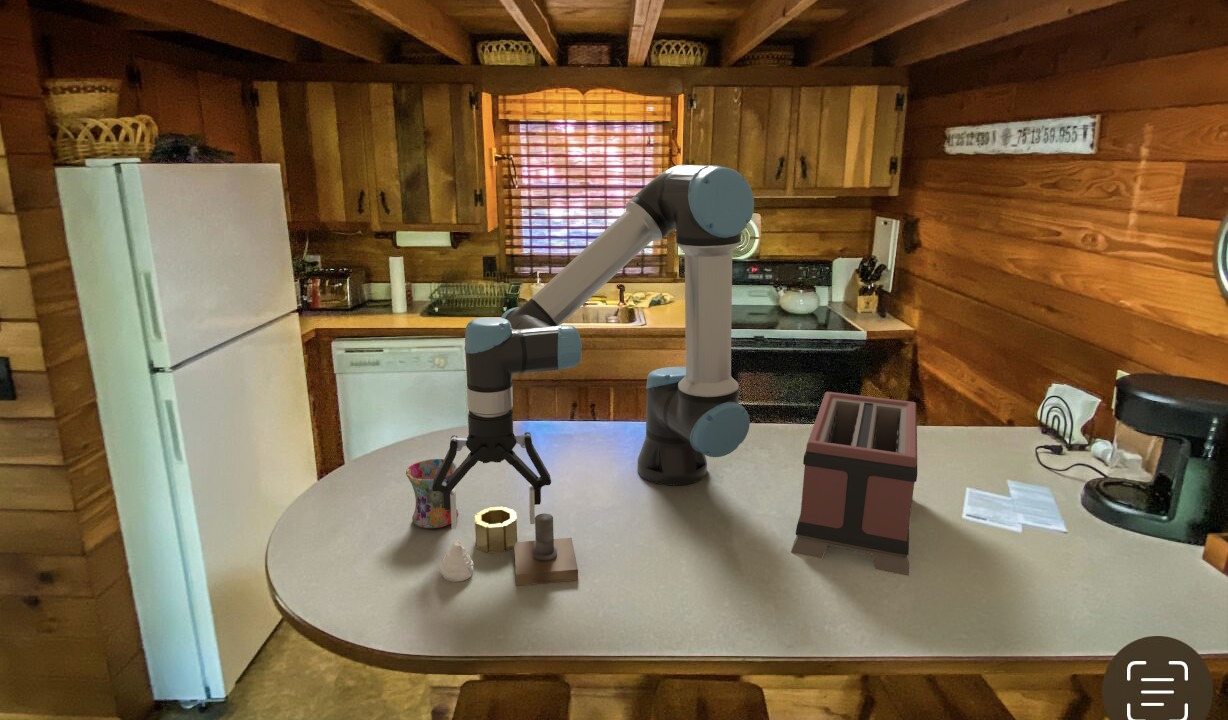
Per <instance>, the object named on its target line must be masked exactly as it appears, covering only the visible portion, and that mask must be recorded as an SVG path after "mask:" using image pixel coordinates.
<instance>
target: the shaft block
mask: <svg viewBox="0 0 1228 720" xmlns="http://www.w3.org/2000/svg"><path fill="white" fill-rule="evenodd" d="M534 528H535V533H534V534H535V535H534V536H535V540H524V541H517V542H514V547H513V549H514V551H513V552H514V564H515V565H514V566H515V581H516V584H515V585H516V586H527V585H537V584H539V585H540V584H549V583H561V582H568V581H569V582H571V581H579V567H578V563H577V557H576V553H575V548H574V544H573V538H572V537H563V538H554V534H555V533H554V516H553V515H552V514H550V513H540V514H537V515H535V524H534Z"/></svg>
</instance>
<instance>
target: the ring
mask: <svg viewBox="0 0 1228 720" xmlns="http://www.w3.org/2000/svg"><path fill="white" fill-rule="evenodd" d="M517 523H518V521H517V512H516V511H515V510H514V509H511V508H508V507H506V506H504V507H503V506H495V507H493V506H492V507H488V508H485V509H482V510H480V511H479V512H477V513H475V515H474V529H475V547H476V548H477V550H479V551H481V552H484V553H487V554H488V553H489V554H497V553H498V554H499V553H505V552H508V551H510V550H511V549H514V542H518V525H517Z"/></svg>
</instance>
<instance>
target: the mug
mask: <svg viewBox="0 0 1228 720" xmlns="http://www.w3.org/2000/svg"><path fill="white" fill-rule="evenodd" d="M444 459H445V458H431V459H424V460H420V461H418V462H415V463H412V464H411V465H410V466H409V467H407V469H406V472H405V474H406V477H407V478H408V481H409V482H410V484H411V486H412V489H413V492H414V496H415V497H414V498H415V507H414V512H413V514H412V518H411V521H412V523H413V524H415V525H416V526H417V527H420V528H424V529H439V528H443V527H446V526H448V525H449V526H450V525H452V524H451V510H445V508H444V495H443V493H442V492H440V491H433V490H432V486H433V481H434V479H435V477H436V475H437V473H438V471H439V469H440V467H441V465H442V463H443V461H444ZM458 467H459V465H457V463H456V462H454V461H453V462H452V464H451V466H450V469H449V471H448V473H447V475H446V477H445V479H444V481H443V482H446V481H447V480H448V479H449V477H450V476H451V475H452V474H453V473H454V472H455V471H456V469H457V468H458ZM456 514H457V518H458V517H459V511H458V509H457V508H456Z"/></svg>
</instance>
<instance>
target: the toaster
mask: <svg viewBox="0 0 1228 720" xmlns="http://www.w3.org/2000/svg"><path fill="white" fill-rule="evenodd" d="M917 419H918V417H917V403H916V402H915V401H908V400H901V399H892V398H884V397H883V398H882V397H874V396H867V395H857V394H849V393H843V392H842V393H841V392H833V391H826V392H824V394H823V398H822V401H821V404H820V407H819V410H818V413H817V415H816V418H815V420H814V421H815V422H814V423H813V426H812V430H811V432H810V434H809V437H808V441H807V443H806V447H805V453H804V455H803V463H802V464H803V465H804V469H803V471H804V472H803V482H802V490H801V491H802V493H801V504H800V505H801V506H800V513H799V514H800V515H799V517H798V519H797V520H798V521H797V523H796V528H795V529H796V530H795V535H796V537H795V539H794V540H793V544H792V547H791V551H790V553H792V554H796V555H802V556H806V557H812V558H817V559H823V558H824V555H825V553H826V551H827V549H828V547H833V548H838V549H845V550H850V551H855V552H859V553H865V554H869V555H871V557H872V560H873V564H874V568H875V570H877V571H882V572H887V573H892V574H897V575H900V576H901V575H902V576H907V577H910V561H909V557H908V556H909V554H910V553H909V552H910V549H909V548H910V520H911V519H910V518H911V513H912V511H911V510H912V505H913V497H914V488H915V482H917V480H918V435H917V434H918V424H917V423H918V420H917Z"/></svg>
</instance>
